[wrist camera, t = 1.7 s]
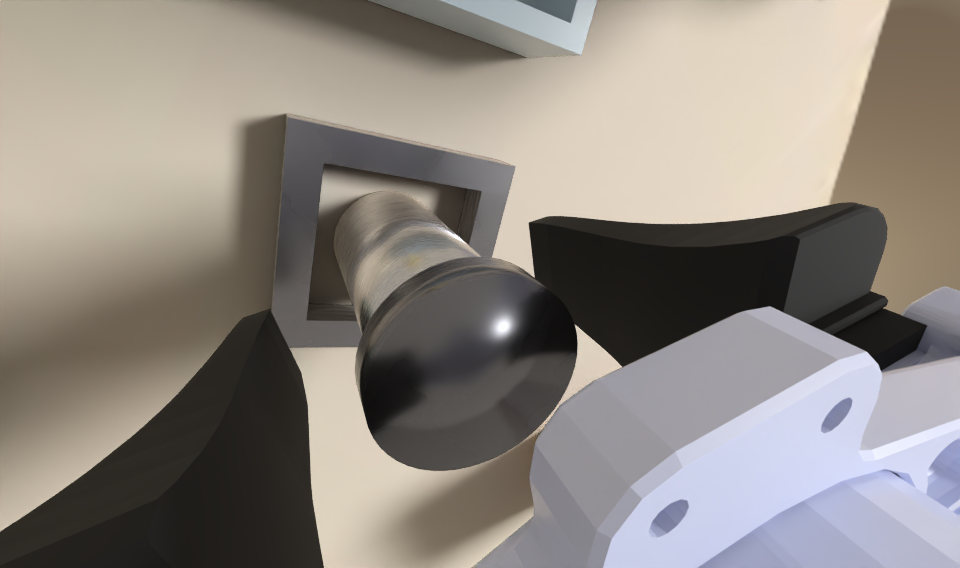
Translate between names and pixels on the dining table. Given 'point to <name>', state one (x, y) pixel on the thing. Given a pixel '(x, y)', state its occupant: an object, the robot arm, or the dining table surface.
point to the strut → (447, 337)
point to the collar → (375, 153)
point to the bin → (510, 22)
